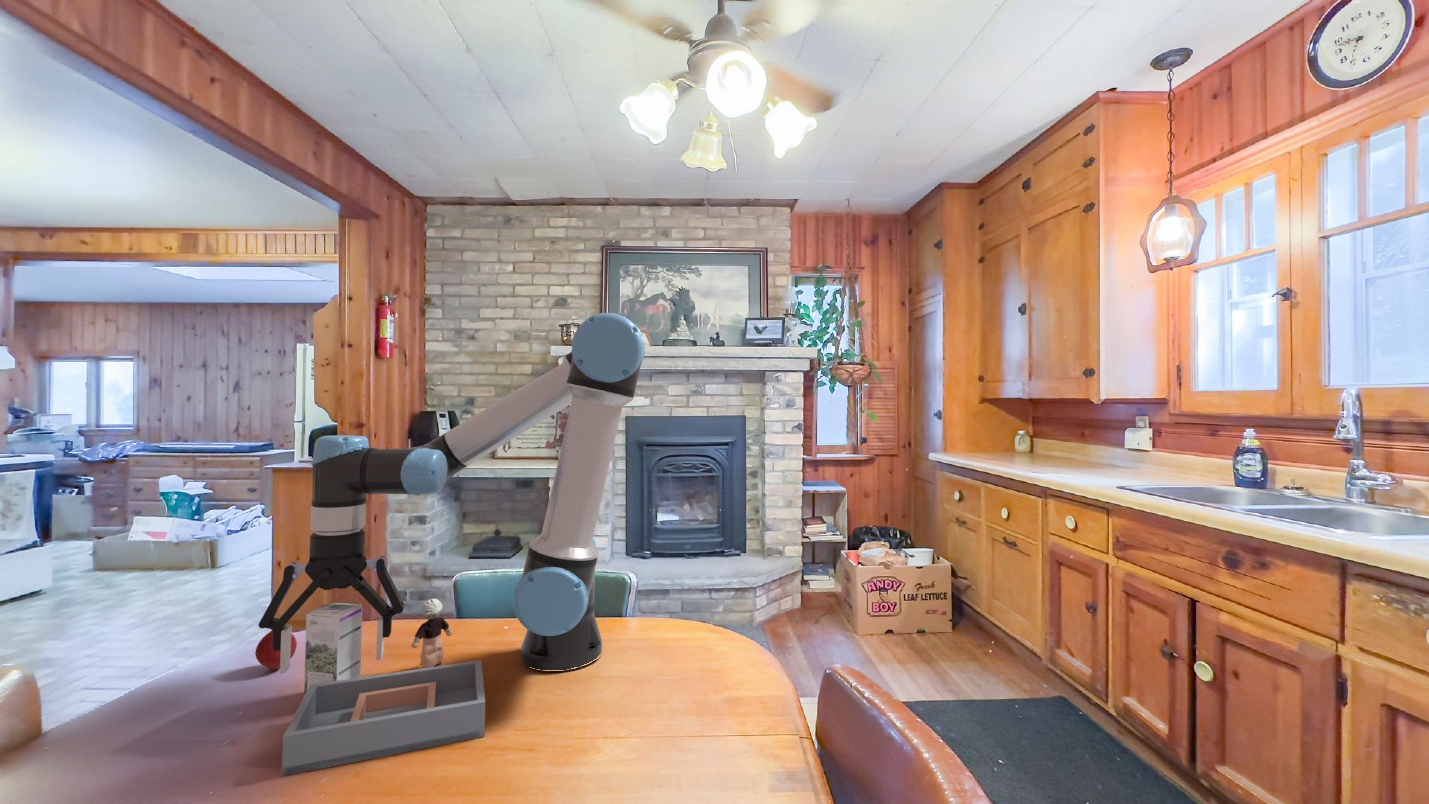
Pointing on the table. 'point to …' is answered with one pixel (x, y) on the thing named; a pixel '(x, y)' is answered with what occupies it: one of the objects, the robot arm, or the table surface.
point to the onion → (271, 651)
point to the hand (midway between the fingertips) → (333, 663)
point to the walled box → (384, 716)
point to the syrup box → (333, 643)
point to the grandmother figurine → (431, 635)
